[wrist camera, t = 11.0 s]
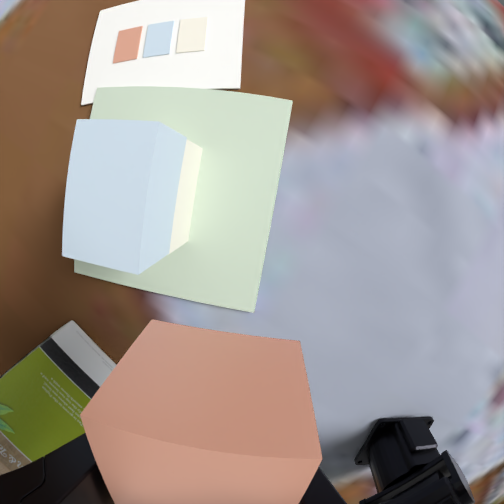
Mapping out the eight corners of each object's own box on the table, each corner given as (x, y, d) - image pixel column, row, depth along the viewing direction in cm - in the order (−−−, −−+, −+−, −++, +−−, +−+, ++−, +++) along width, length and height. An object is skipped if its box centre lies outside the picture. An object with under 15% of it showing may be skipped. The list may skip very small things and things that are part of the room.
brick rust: (265, 469, 9) (263, 557, 5) (160, 453, 9) (131, 534, 5) (299, 341, 8) (322, 458, 4) (151, 319, 8) (79, 415, 4)
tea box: (89, 445, 25) (35, 532, 11) (26, 384, 24) (-47, 457, 10) (159, 397, 23) (90, 537, 8) (73, 313, 22) (-50, 410, 7)
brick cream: (188, 241, 19) (168, 254, 15) (132, 231, 19) (103, 241, 15) (202, 148, 18) (185, 138, 14) (145, 142, 18) (117, 133, 14)
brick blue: (169, 253, 15) (138, 274, 11) (104, 240, 15) (62, 255, 11) (187, 137, 14) (159, 121, 10) (118, 132, 14) (77, 119, 10)
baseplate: (254, 310, 20) (254, 312, 20) (77, 270, 21) (74, 272, 20) (292, 102, 17) (292, 100, 17) (99, 89, 18) (97, 87, 17)
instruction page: (240, 88, 17) (239, 87, 17) (82, 105, 18) (80, 104, 18) (245, -11, 16) (245, -14, 15) (101, 11, 16) (99, 10, 16)
